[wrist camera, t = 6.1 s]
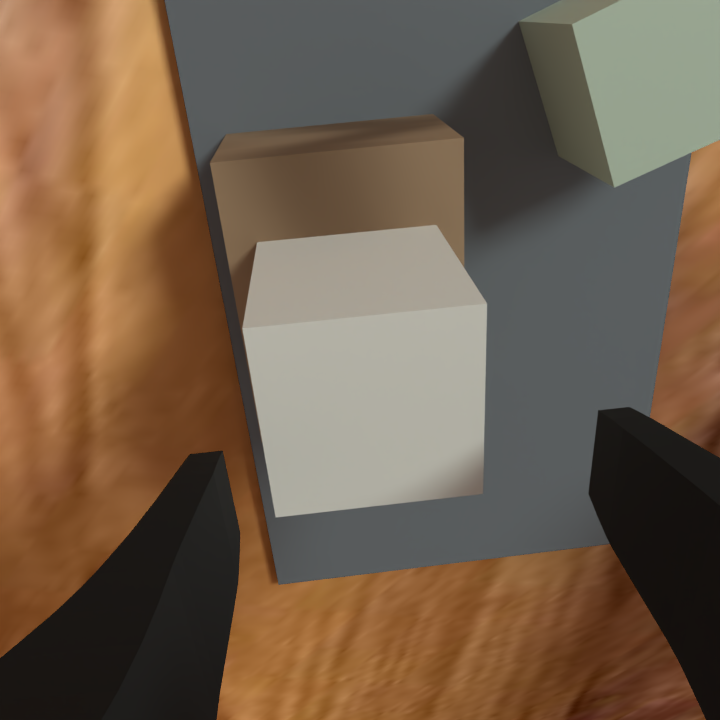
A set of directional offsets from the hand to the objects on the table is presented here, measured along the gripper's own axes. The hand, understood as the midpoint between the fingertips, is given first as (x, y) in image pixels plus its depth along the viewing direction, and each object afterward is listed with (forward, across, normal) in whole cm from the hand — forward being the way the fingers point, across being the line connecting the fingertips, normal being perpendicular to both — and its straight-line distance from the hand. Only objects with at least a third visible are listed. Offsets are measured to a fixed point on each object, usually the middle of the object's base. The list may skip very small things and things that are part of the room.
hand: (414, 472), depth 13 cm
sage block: (+10, -7, -6) cm, 14 cm away
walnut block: (+10, +1, -1) cm, 10 cm away
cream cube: (+6, +1, -1) cm, 6 cm away
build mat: (+10, -3, +2) cm, 11 cm away
